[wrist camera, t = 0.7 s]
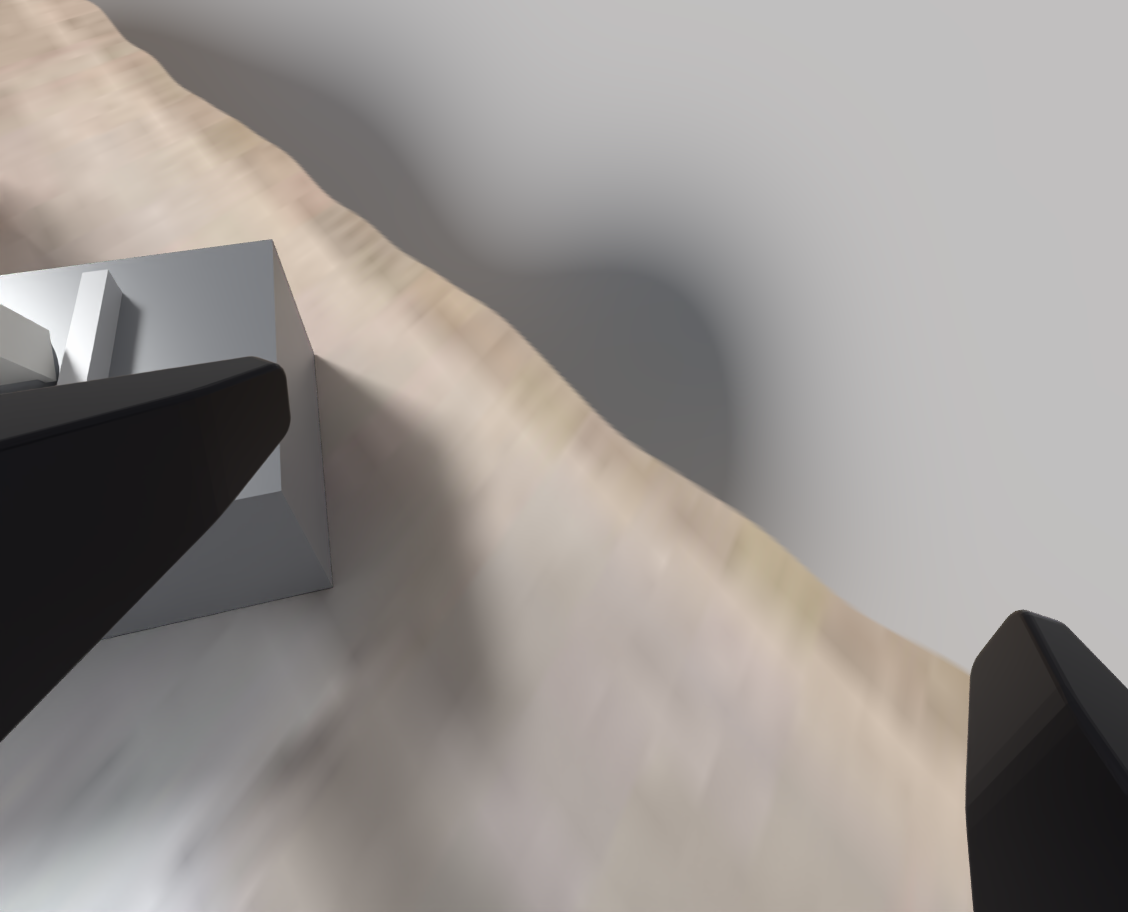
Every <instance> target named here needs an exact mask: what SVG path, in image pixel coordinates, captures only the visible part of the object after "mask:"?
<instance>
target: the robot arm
mask: <svg viewBox="0 0 1128 912" xmlns="http://www.w3.org/2000/svg"><path fill="white" fill-rule="evenodd" d="M290 423H291V412H290V403H289V394H288V385H287V377H286V373H285V371H284V369H283V367H281V366H280V365H279V364H277V363H274V362H271V361H268V360H265V359H262V358H259V357H254V356H247V357H241V358H234V359H228V360H221V361H214V362H208V363H201V364H195V365H188V366H182V367H175V368H169V369H162V370H155V371H149V372H142V373H136V374H129V375H123V376H116V377H110V378H103V379H96V380H90V381H83V382H77V383H70V384H64V385H57V386H51V387H44V388H37V389H31V390H24V391H18V392H11V393H5V394H0V742H1V741H2V740H3V739H4V738H5V737H6V736H7V735H8V734H9V733H10V732H11V731H12V730H13V729H14V728H15V727H16V726H17V725H18V724H19V723H20V722H21V721H22V720H23V719H24V718H25V717H26V716H27V715H28V714H29V713H30V712H31V711H32V710H33V709H34V708H35V707H36V706H37V705H38V704H39V703H40V702H41V700H42V699H43V698H44V697H45V696H46V695H47V694H48V693H49V692H50V691H51V690H52V689H53V688H54V687H55V686H56V685H57V684H58V683H59V682H60V681H61V680H62V679H63V678H64V677H65V676H66V675H67V674H68V673H69V672H70V671H71V670H72V669H73V668H74V667H75V666H76V665H77V664H78V663H79V662H80V661H81V660H82V659H83V658H84V657H85V656H86V655H87V654H88V652H89V651H90V650H91V649H92V648H93V647H94V646H95V645H96V644H97V643H98V642H99V641H100V640H101V639H102V638H103V637H104V636H105V635H106V634H107V633H108V632H109V631H110V630H111V629H112V628H113V627H114V626H115V625H116V624H117V623H118V622H119V621H120V620H121V619H122V618H123V617H124V616H125V615H126V614H127V613H128V612H129V611H130V610H131V609H132V608H133V607H134V606H135V605H136V603H137V602H138V601H139V600H140V599H141V598H142V597H143V596H144V595H145V594H146V593H147V592H148V591H149V590H150V589H151V588H152V587H153V586H154V585H155V584H156V583H157V582H158V581H159V580H160V579H161V578H162V577H163V576H164V575H165V574H166V573H167V572H168V571H169V570H170V569H171V568H172V567H173V566H174V565H175V564H176V563H177V562H178V561H179V560H180V559H181V558H182V557H183V556H184V554H185V553H186V552H187V551H188V550H189V549H190V548H191V547H192V546H193V545H194V544H195V543H196V542H197V541H198V540H199V539H200V538H201V537H202V536H203V535H204V534H205V533H206V532H207V531H208V530H209V529H210V528H211V527H212V526H213V525H214V523H215V522H216V521H217V520H218V519H219V518H220V517H221V516H222V514H223V513H224V512H225V511H226V510H227V509H228V507H229V506H230V505H231V504H232V502H233V501H234V500H235V499H236V497H237V496H238V495H239V494H240V492H241V491H242V490H243V489H244V487H245V486H246V485H247V484H248V482H249V481H250V480H251V479H252V477H253V476H254V475H255V474H256V472H257V471H258V470H259V469H260V467H261V466H262V465H263V464H264V462H265V461H266V460H267V459H268V457H269V456H270V455H271V453H272V452H273V451H274V450H275V448H276V447H277V446H278V445H279V443H280V442H281V441H282V440H283V438H284V437H285V436H286V434H287V432H288V430H289V427H290ZM965 810H966V827H967V841H968V853H969V864H970V876H971V888H972V900H973V911H974V912H1128V689H1127V688H1126V687H1125V686H1124V685H1123V684H1122V683H1121V681H1120V680H1119V679H1118V678H1117V677H1116V676H1115V675H1114V674H1113V673H1112V672H1111V671H1110V670H1109V669H1108V668H1107V667H1106V666H1105V665H1104V664H1103V663H1102V662H1101V661H1100V660H1099V659H1098V658H1097V657H1096V656H1095V655H1094V654H1093V653H1092V652H1091V651H1090V650H1089V649H1088V648H1087V647H1086V646H1085V644H1084V643H1083V642H1082V641H1081V640H1080V639H1079V638H1078V637H1077V636H1076V635H1075V634H1074V633H1073V632H1072V631H1071V630H1070V629H1069V628H1068V627H1067V626H1066V625H1065V624H1063V623H1062V622H1060V621H1058V620H1055V619H1051V618H1048V617H1045V616H1042V615H1039V614H1036V613H1033V612H1030V611H1027V610H1018V611H1015V612H1013V613H1012V614H1010V616H1008V618H1007V619H1006V620H1005V621H1004V623H1003V624H1002V625H1001V626H1000V628H999V629H998V630H997V631H996V633H995V634H994V635H993V637H992V638H991V639H990V640H989V642H988V643H987V644H986V645H985V647H984V648H983V649H982V651H981V652H980V653H979V655H978V656H977V658H976V659H975V662H974V664H973V666H972V670H971V674H970V691H969V715H968V740H967V765H966V802H965Z"/></svg>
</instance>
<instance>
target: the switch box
mask: <svg viewBox="0 0 1128 912" xmlns="http://www.w3.org/2000/svg"><path fill="white" fill-rule="evenodd" d="M0 304H2V305H3V306H5V307H7V308H9V309H11V310H13V311H14V312H16V313H18V314H20V315H22V316H24V317H25V318H27V319H29V320H31V321H33V322H35V323H36V324H38V325H40V326H42V327H44V328H46V329H47V330H49V332H50V339H51V344H52V346H53V348H54V350H55V352H56V355H57V358H58V363H59V378H58V382H57V383H56V385H54V386H57V385H64V384H70V383H77V382H83V381H90V380H96V379H103V378H110V377H116V376H123V375H129V374H136V373H142V372H149V371H155V370H162V369H169V368H175V367H182V366H188V365H195V364H201V363H208V362H214V361H221V360H228V359H234V358H241V357H247V356H254V357H259V358H262V359H265V360H268V361H271V362H274V363H277V364H279V365H280V366H281V367H283V369H284V371H285V373H286V377H287V385H288V394H289V403H290V412H291V423H290V427H289V430H288V432H287V434H286V436H285V437H284V438H283V440H282V441H281V442H280V443H279V445H278V446H277V447H276V448H275V450H274V451H273V452H272V453H271V455H270V456H269V457H268V459H267V460H266V461H265V462H264V464H263V465H262V466H261V467H260V469H259V470H258V471H257V472H256V474H255V475H254V476H253V477H252V479H251V480H250V481H249V482H248V484H247V485H246V486H245V487H244V489H243V490H242V491H241V492H240V494H239V495H238V496H237V497H236V499H235V500H234V501H233V502H232V504H231V505H230V506H229V507H228V509H227V510H226V511H225V512H224V513H223V514H222V516H221V517H220V518H219V519H218V520H217V521H216V522H215V523H214V525H213V526H212V527H211V528H210V529H209V530H208V531H207V532H206V533H205V534H204V535H203V536H202V537H201V538H200V539H199V540H198V541H197V542H196V543H195V544H194V545H193V546H192V547H191V548H190V549H189V550H188V551H187V552H186V553H185V554H184V556H183V557H182V558H181V559H180V560H179V561H178V562H177V563H176V564H175V565H174V566H173V567H172V568H171V569H170V570H169V571H168V572H167V573H166V574H165V575H164V576H163V577H162V578H161V579H160V580H159V581H158V582H157V583H156V584H155V585H154V586H153V587H152V588H151V589H150V590H149V591H148V592H147V593H146V594H145V595H144V596H143V597H142V598H141V599H140V600H139V601H138V602H137V603H136V605H135V606H134V607H133V608H132V609H131V610H130V611H129V612H128V613H127V614H126V615H125V616H124V617H123V618H122V619H121V620H120V621H119V622H118V623H117V624H116V625H115V626H114V627H113V628H112V629H111V630H110V631H109V632H108V633H107V634H106V635H105V636H104V637H103V638H102V639H105V638H110V637H114V636H119V635H123V634H127V633H132V632H136V631H141V630H145V629H150V628H154V627H158V626H163V625H167V624H172V623H176V622H181V621H185V620H189V619H194V618H198V617H203V616H207V615H211V614H216V613H220V612H225V611H229V610H234V609H238V608H242V607H247V606H251V605H256V604H260V603H264V602H269V601H273V600H278V599H282V598H287V597H291V596H295V595H300V594H304V593H309V592H313V591H318V590H322V589H326V588H331V587H333V583H332V570H331V558H330V546H329V533H328V521H327V509H326V497H325V484H324V472H323V460H322V447H321V435H320V423H319V411H318V398H317V386H316V374H315V361H314V352H313V349H312V347H311V344H310V341H309V338H308V336H307V333H306V330H305V327H304V325H303V322H302V319H301V316H300V314H299V311H298V308H297V305H296V303H295V300H294V297H293V294H292V292H291V289H290V286H289V283H288V281H287V278H286V275H285V273H284V270H283V267H282V264H281V262H280V259H279V256H278V253H277V251H276V248H275V245H274V242H273V240H272V239H270V240H263V241H255V242H248V243H240V244H233V245H225V246H217V247H210V248H202V249H195V250H187V251H180V252H172V253H165V254H157V255H149V256H142V257H134V258H127V259H119V260H112V261H104V262H96V263H89V264H81V265H74V266H66V267H59V268H51V269H43V270H36V271H28V272H21V273H13V274H6V275H0Z"/></svg>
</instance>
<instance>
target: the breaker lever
mask: <svg viewBox="0 0 1128 912" xmlns="http://www.w3.org/2000/svg"><path fill="white" fill-rule="evenodd" d="M58 378H59V363H58V358H57V355H56V352H55V350H54V348H53V346H52V344H51V339H50V332H49V330H47V329H46V328H44V327H42V326H40V325H38V324H36V323H35V322H33V321H31V320H29V319H27V318H25V317H24V316H22V315H20V314H18V313H16V312H14V311H13V310H11V309H9V308H7V307H5V306H3V305H2V304H0V394H5V393H11V392H18V391H24V390H31V389H37V388H44V387H51V386H54V385H56V383H57V382H58Z"/></svg>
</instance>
